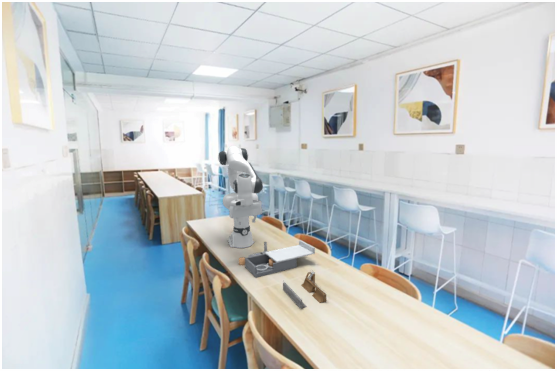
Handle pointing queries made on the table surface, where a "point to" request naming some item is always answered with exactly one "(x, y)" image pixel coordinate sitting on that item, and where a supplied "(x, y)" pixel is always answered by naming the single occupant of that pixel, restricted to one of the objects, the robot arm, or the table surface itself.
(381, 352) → the table surface
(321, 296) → the skate ramp
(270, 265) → the egg seated
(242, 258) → the brown egg
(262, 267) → the housing
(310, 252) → the lid
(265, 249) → the electronic device
